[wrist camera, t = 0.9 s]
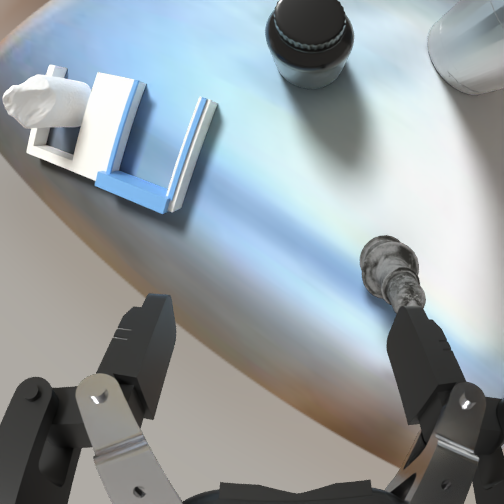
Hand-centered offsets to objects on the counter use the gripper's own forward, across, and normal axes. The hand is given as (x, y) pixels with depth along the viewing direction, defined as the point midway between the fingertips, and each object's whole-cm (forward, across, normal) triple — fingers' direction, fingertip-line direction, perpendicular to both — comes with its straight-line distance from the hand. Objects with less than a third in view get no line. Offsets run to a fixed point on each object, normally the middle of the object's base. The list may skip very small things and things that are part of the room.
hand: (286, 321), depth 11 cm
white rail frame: (+27, +18, -3) cm, 33 cm away
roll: (+28, +24, -6) cm, 38 cm away
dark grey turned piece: (+20, -12, +10) cm, 25 cm away
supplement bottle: (+26, -3, -10) cm, 28 cm away
